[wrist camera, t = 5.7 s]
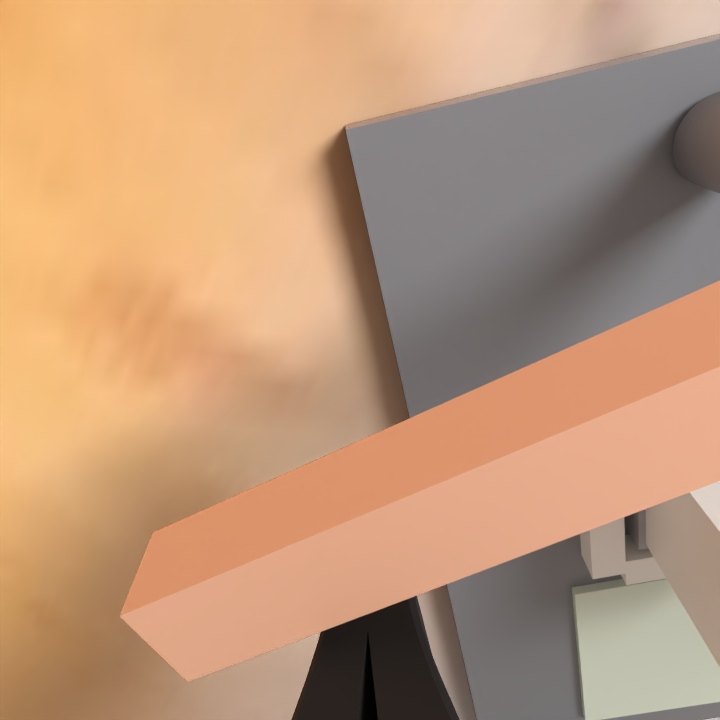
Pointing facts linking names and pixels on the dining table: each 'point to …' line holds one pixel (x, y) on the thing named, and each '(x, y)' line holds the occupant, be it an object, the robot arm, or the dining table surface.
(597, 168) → the fixture base plate
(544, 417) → the retention clip
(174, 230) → the dining table surface
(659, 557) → the plug
